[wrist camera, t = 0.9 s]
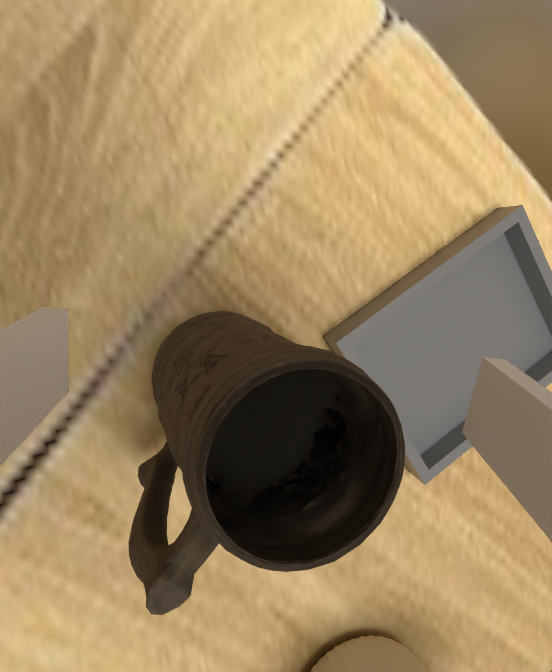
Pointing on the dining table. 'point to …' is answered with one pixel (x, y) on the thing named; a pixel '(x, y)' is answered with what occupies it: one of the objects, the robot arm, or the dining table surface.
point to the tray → (454, 332)
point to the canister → (370, 657)
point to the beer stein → (261, 455)
